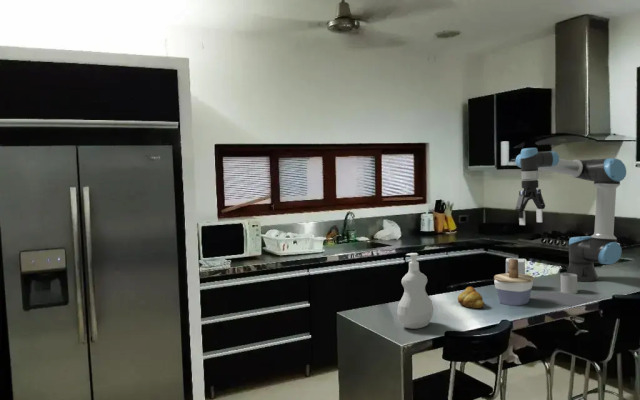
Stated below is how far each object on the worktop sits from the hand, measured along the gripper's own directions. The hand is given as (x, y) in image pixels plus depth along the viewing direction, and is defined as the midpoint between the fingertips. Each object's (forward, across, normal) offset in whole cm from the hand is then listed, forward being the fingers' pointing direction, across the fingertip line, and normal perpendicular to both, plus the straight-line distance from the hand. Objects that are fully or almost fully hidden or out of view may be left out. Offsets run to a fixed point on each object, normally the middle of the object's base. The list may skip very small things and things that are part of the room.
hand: (531, 223), depth 238 cm
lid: (+23, +21, +5) cm, 32 cm away
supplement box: (+35, -2, -11) cm, 36 cm away
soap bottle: (+34, +79, +1) cm, 86 cm away
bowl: (+34, +21, +5) cm, 41 cm away
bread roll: (+34, +40, -4) cm, 53 cm away
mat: (+34, +2, +15) cm, 37 cm away
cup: (+35, -14, +11) cm, 39 cm away
